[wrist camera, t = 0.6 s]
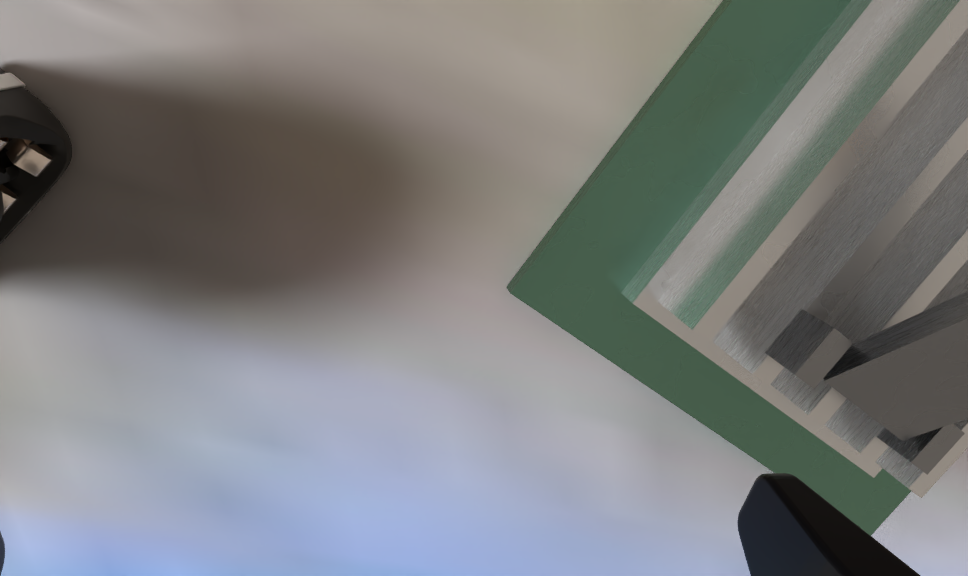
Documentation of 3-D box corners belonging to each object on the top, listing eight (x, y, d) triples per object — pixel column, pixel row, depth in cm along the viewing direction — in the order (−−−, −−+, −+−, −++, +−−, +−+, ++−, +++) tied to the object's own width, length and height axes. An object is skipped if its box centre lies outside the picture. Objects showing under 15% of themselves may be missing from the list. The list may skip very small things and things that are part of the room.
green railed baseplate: (859, 527, 29) (981, 641, 24) (506, 287, 24) (557, 364, 18) (1236, 108, 26) (1477, 127, 21) (939, -287, 21) (1163, -409, 15)
